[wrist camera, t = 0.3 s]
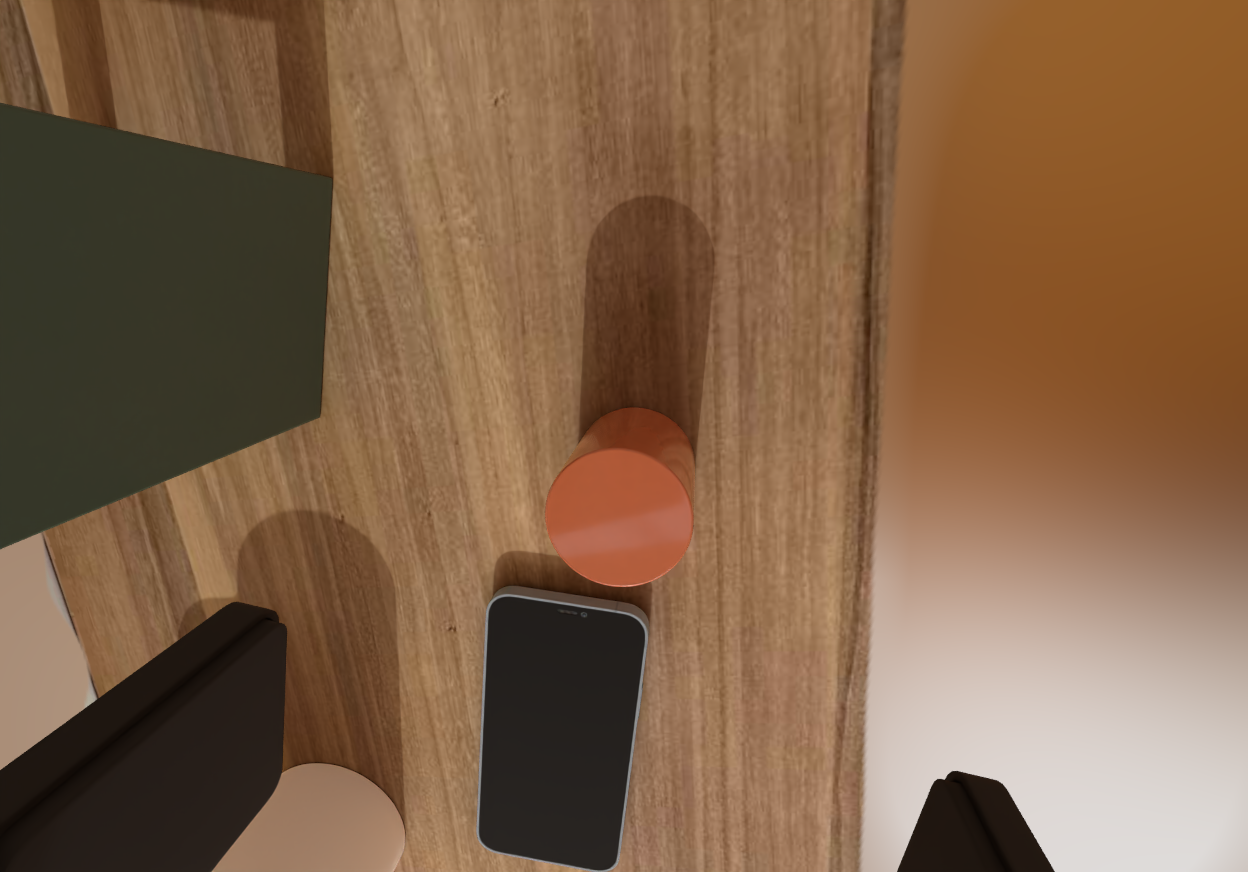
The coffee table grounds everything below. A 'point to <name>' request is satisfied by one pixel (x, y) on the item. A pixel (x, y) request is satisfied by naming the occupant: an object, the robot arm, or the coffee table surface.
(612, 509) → the canister
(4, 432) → the shelf
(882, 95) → the coffee table surface
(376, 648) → the coffee table surface
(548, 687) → the smartphone
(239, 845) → the mug
